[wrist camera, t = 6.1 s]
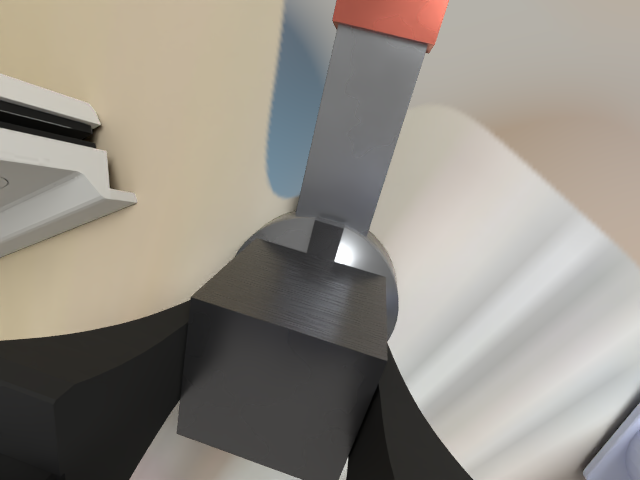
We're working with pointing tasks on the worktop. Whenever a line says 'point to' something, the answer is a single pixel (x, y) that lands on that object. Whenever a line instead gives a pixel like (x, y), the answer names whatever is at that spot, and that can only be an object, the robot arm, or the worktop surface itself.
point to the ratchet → (359, 134)
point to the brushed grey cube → (283, 359)
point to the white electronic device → (49, 166)
